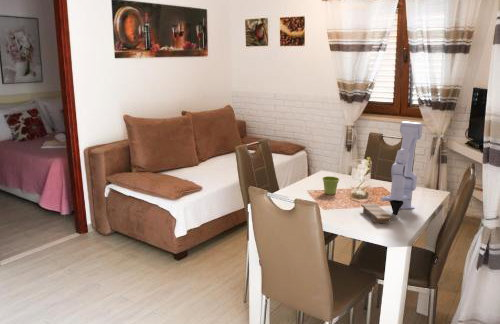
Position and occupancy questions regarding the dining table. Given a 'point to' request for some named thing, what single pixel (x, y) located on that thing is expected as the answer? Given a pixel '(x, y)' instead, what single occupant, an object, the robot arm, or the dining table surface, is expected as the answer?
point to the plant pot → (330, 184)
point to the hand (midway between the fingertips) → (395, 214)
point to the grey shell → (391, 214)
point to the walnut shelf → (376, 213)
